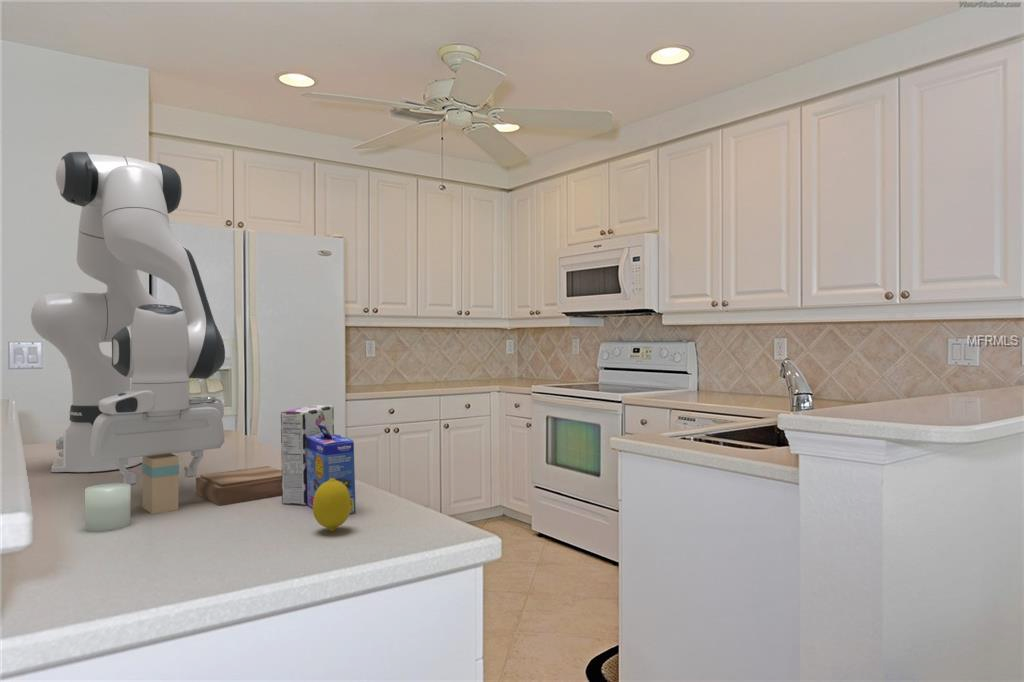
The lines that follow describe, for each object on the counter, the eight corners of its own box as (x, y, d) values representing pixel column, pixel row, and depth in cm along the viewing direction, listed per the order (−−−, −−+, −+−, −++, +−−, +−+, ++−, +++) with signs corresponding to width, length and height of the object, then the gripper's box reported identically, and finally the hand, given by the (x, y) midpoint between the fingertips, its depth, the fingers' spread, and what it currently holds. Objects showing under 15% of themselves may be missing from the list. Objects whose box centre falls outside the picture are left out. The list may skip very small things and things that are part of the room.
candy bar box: (311, 490, 126) (311, 404, 126) (335, 491, 125) (335, 405, 125) (279, 504, 115) (279, 410, 115) (305, 506, 114) (305, 411, 114)
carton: (141, 507, 113) (141, 454, 113) (167, 503, 116) (167, 452, 116) (152, 514, 108) (152, 459, 108) (178, 509, 111) (178, 456, 111)
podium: (196, 493, 123) (196, 474, 123) (269, 482, 132) (269, 465, 132) (219, 505, 114) (219, 485, 114) (296, 492, 123) (296, 474, 123)
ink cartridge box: (304, 505, 114) (304, 422, 114) (335, 501, 117) (335, 420, 117) (324, 518, 106) (324, 428, 106) (356, 513, 109) (356, 426, 109)
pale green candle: (81, 525, 102) (81, 486, 102) (125, 518, 106) (125, 481, 106) (89, 534, 97) (89, 493, 97) (134, 526, 101) (135, 487, 101)
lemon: (315, 538, 95) (315, 483, 95) (310, 528, 100) (311, 476, 100) (353, 534, 98) (354, 480, 97) (347, 524, 103) (347, 473, 103)
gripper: (217, 394, 121) (217, 469, 121) (87, 401, 107) (87, 486, 107) (230, 396, 117) (230, 474, 117) (96, 404, 103) (96, 492, 102)
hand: (160, 480), depth 112 cm, fingers open, 8 cm apart
